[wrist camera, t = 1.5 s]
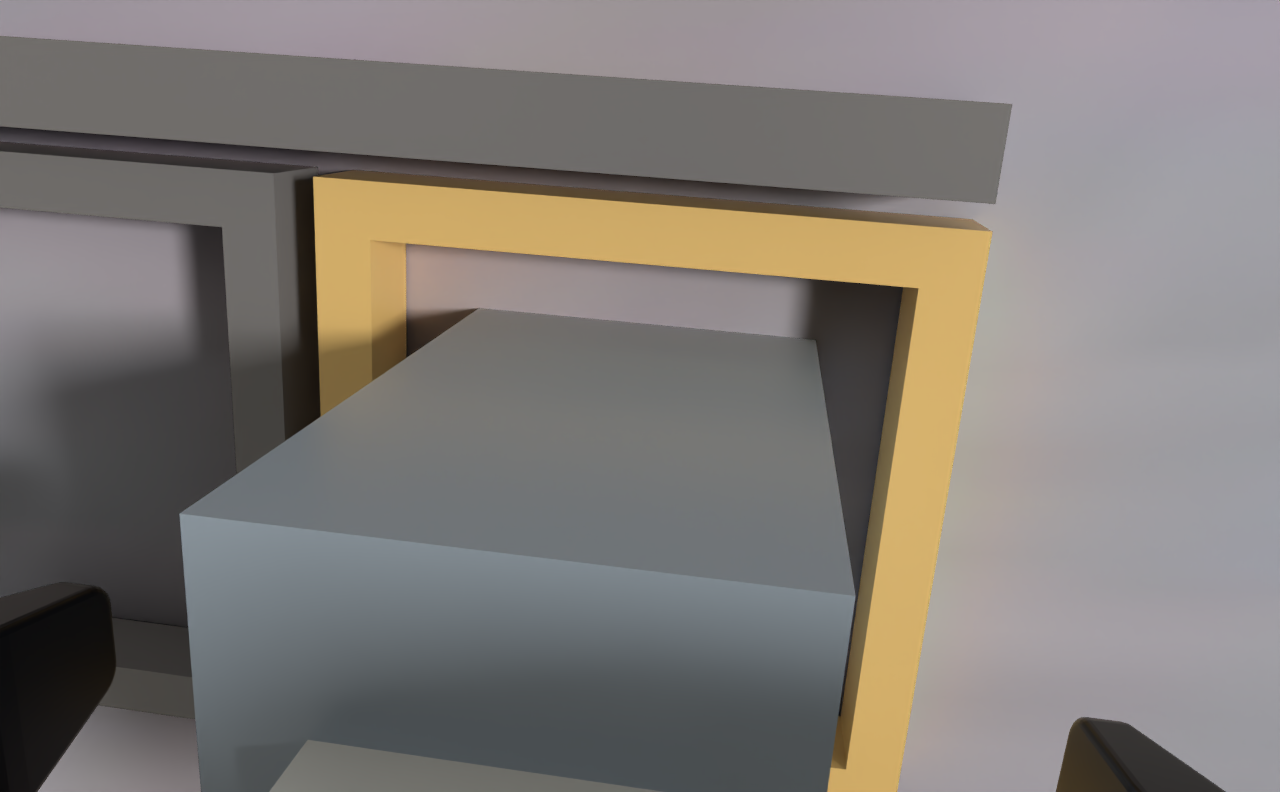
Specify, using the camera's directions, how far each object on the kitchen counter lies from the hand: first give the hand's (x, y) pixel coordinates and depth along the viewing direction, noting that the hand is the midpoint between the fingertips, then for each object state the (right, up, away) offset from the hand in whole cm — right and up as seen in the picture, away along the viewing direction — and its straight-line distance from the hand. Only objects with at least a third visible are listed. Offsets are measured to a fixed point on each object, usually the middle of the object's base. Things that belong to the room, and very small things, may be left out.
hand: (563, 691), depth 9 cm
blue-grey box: (+1, +2, +5) cm, 5 cm away
